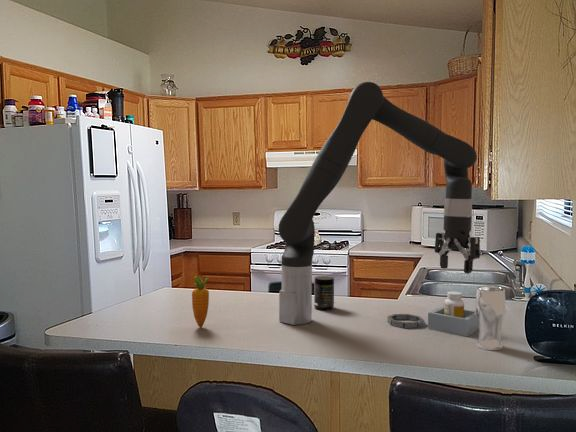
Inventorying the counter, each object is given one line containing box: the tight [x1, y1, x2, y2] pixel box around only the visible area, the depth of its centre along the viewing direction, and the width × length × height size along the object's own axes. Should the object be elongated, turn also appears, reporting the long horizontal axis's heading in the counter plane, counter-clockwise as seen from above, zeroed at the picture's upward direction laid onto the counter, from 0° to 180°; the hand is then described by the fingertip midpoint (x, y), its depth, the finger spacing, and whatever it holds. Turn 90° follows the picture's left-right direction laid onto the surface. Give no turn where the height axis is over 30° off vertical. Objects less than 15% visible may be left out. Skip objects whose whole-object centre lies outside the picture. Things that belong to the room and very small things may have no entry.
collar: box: [386, 313, 425, 329], centre depth 141 cm, size 10×10×2 cm
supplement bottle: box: [444, 291, 465, 318], centre depth 136 cm, size 5×5×10 cm
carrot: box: [191, 275, 210, 328], centre depth 135 cm, size 5×5×15 cm
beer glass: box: [475, 285, 506, 351], centre depth 120 cm, size 7×7×15 cm
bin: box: [427, 305, 478, 337], centre depth 136 cm, size 11×11×5 cm
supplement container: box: [313, 275, 335, 311], centre depth 158 cm, size 7×7×10 cm
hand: (455, 270), depth 135 cm, fingers open, 8 cm apart
